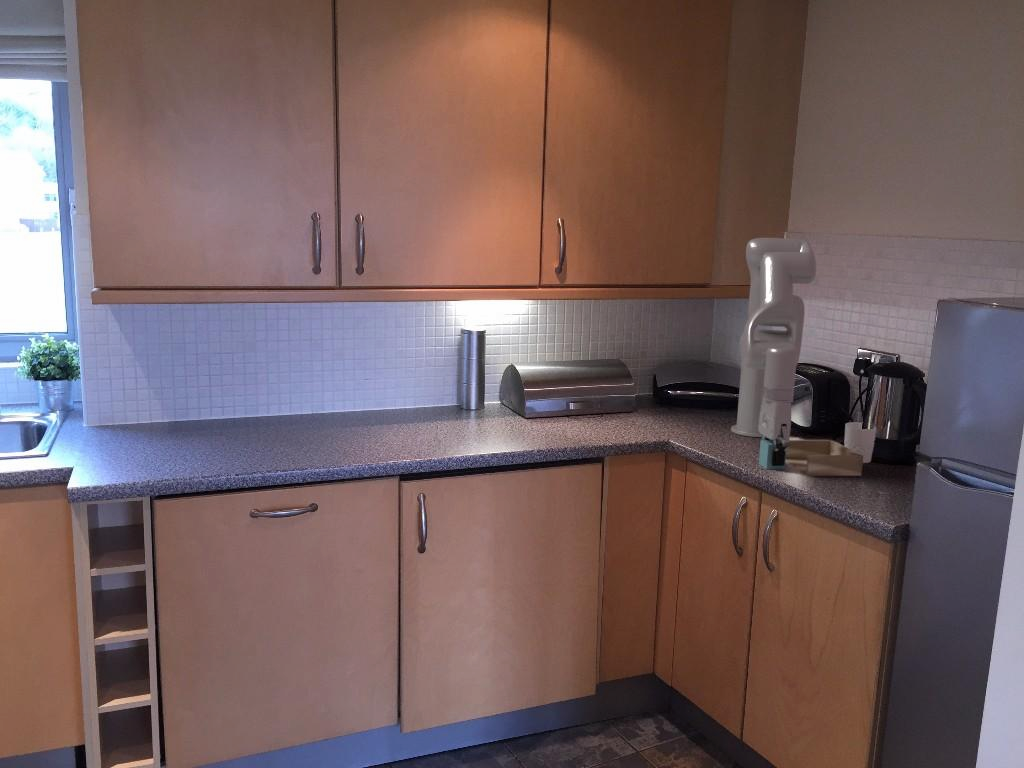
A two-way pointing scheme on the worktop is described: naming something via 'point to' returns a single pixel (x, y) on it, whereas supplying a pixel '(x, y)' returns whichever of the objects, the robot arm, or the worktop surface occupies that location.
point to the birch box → (823, 458)
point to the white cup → (860, 440)
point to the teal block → (768, 454)
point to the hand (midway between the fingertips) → (772, 461)
